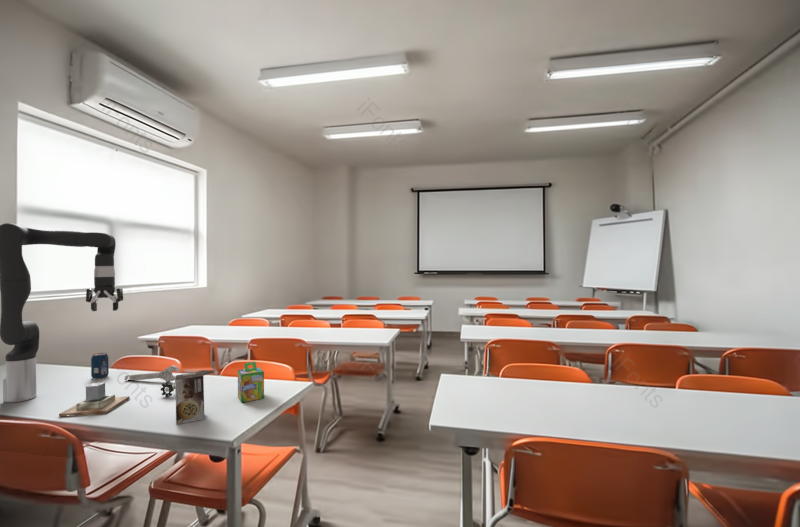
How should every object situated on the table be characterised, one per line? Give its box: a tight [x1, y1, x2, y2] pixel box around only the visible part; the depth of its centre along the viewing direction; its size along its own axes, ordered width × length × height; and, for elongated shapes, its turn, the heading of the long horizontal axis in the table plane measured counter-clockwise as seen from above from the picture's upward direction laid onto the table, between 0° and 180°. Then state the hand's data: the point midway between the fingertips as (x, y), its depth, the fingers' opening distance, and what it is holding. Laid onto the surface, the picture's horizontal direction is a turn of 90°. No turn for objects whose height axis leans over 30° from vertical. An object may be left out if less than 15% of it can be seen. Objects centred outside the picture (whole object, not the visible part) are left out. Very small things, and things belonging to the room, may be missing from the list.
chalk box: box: [237, 361, 265, 403], centre depth 158 cm, size 9×9×15 cm
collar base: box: [58, 394, 130, 417], centre depth 149 cm, size 16×16×3 cm
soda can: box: [90, 352, 110, 380], centre depth 191 cm, size 7×7×12 cm
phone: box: [198, 370, 213, 376], centre depth 192 cm, size 7×1×15 cm
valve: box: [160, 381, 175, 398], centre depth 166 cm, size 7×7×12 cm
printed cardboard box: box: [174, 371, 205, 425], centre depth 137 cm, size 9×6×16 cm
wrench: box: [124, 365, 181, 383], centre depth 183 cm, size 8×2×30 cm
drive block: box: [85, 382, 106, 402], centre depth 149 cm, size 4×4×8 cm
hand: (104, 310), depth 173 cm, fingers open, 8 cm apart
